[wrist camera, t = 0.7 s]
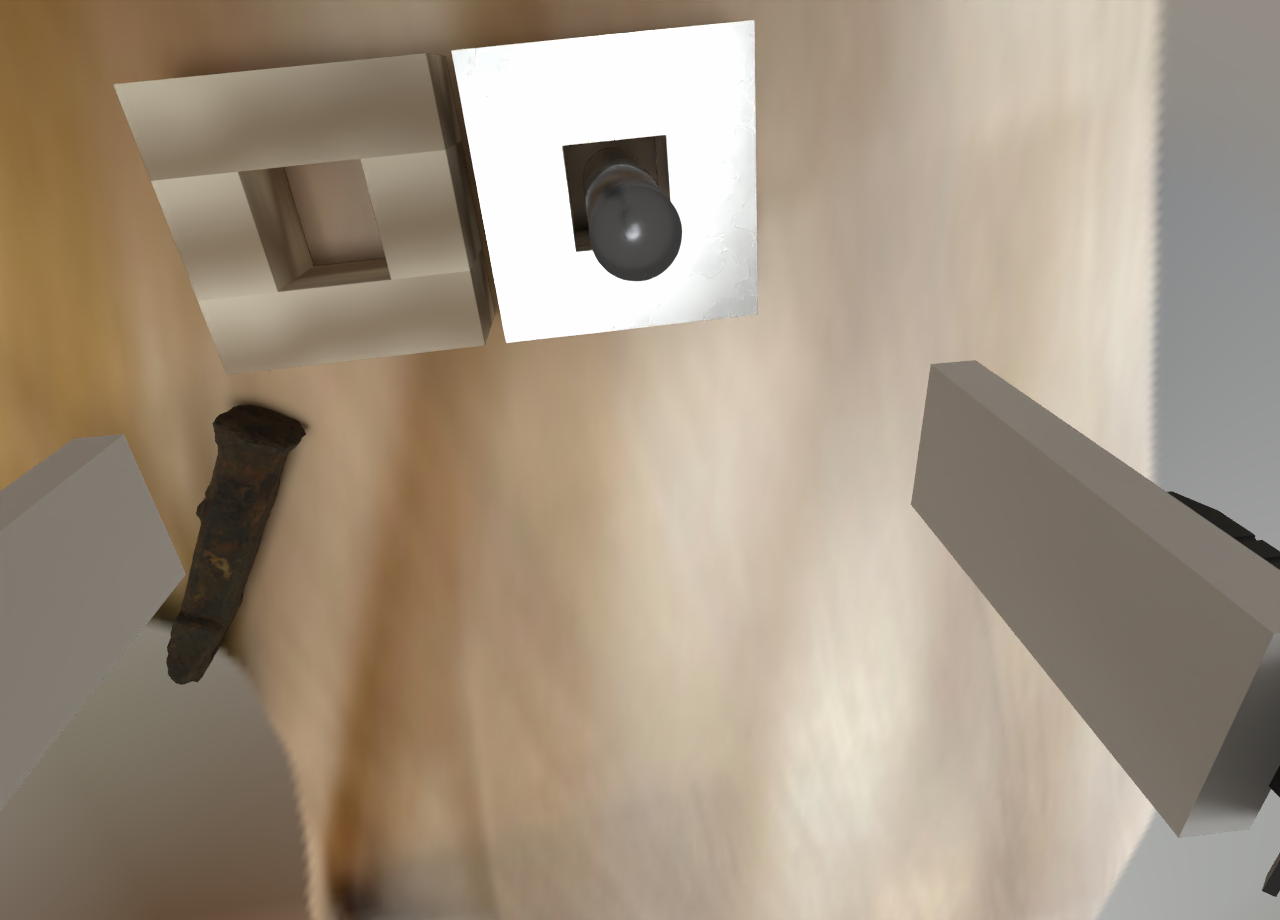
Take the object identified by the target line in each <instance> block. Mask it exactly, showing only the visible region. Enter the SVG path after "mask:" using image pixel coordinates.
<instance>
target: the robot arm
mask: <svg viewBox="0 0 1280 920" xmlns="http://www.w3.org/2000/svg"><path fill="white" fill-rule="evenodd" d="M911 505H912V506H913V508H914V509H915V510H916V511H917V512H918V514H919V515H920V516H921V517H922V519H923V520H924V521H925V522H926V524H927V525H928V526H929V527H930V529H931V530H932V531H933V532H934V534H935V535H936V536H937V537H938V539H939V540H940V541H941V542H942V544H943V545H944V546H945V547H946V549H947V550H948V551H949V552H950V554H951V555H952V556H953V557H954V559H955V560H956V561H957V562H958V564H959V565H960V566H961V567H962V569H963V570H964V571H965V572H966V574H967V575H968V576H969V577H970V578H971V580H972V581H973V582H974V583H975V585H976V586H977V587H978V588H979V590H980V591H981V592H982V593H983V595H984V596H985V597H986V598H987V600H988V601H989V602H990V603H991V605H992V606H993V607H994V608H995V610H996V611H997V612H998V613H999V615H1000V616H1001V617H1002V618H1003V620H1004V621H1005V622H1006V623H1007V625H1008V626H1009V627H1010V628H1011V630H1012V631H1013V632H1014V633H1015V635H1016V636H1017V637H1018V638H1019V640H1020V641H1021V642H1022V643H1023V644H1024V646H1025V647H1026V648H1027V649H1028V651H1029V652H1030V653H1031V654H1032V656H1033V657H1034V658H1035V659H1036V661H1037V662H1038V663H1039V664H1040V666H1041V667H1042V668H1043V669H1044V671H1045V672H1046V673H1047V674H1048V676H1049V677H1050V678H1051V679H1052V681H1053V682H1054V683H1055V684H1056V686H1057V687H1058V688H1059V689H1060V691H1061V692H1062V693H1063V694H1064V696H1065V697H1066V698H1067V699H1068V701H1069V702H1070V703H1071V704H1072V706H1073V707H1074V708H1075V709H1076V710H1077V712H1078V713H1079V714H1080V715H1081V717H1082V718H1083V719H1084V720H1085V722H1086V723H1087V724H1088V725H1089V727H1090V728H1091V729H1092V730H1093V732H1094V733H1095V734H1096V735H1097V737H1098V738H1099V739H1100V740H1101V742H1102V743H1103V744H1104V745H1105V747H1106V748H1107V749H1108V750H1109V752H1110V753H1111V754H1112V755H1113V757H1114V758H1115V759H1116V760H1117V762H1118V763H1119V764H1120V765H1121V767H1122V768H1123V769H1124V770H1125V772H1126V773H1127V774H1128V775H1129V776H1130V778H1131V779H1132V780H1133V781H1134V783H1135V784H1136V785H1137V786H1138V788H1139V789H1140V790H1141V791H1142V793H1143V794H1144V795H1145V796H1146V798H1147V799H1148V800H1149V801H1150V803H1151V804H1152V805H1153V806H1154V808H1155V809H1156V810H1157V811H1158V812H1159V814H1160V815H1161V816H1162V818H1163V819H1164V820H1165V821H1166V823H1167V824H1168V825H1169V826H1170V828H1171V829H1172V830H1173V831H1174V832H1175V834H1176V835H1177V836H1178V837H1179V838H1181V837H1190V836H1198V835H1206V834H1215V833H1222V832H1231V831H1238V830H1247V829H1250V827H1251V825H1252V823H1253V822H1254V820H1255V818H1256V816H1257V814H1258V812H1259V810H1260V809H1261V807H1262V805H1263V803H1264V801H1265V799H1266V797H1267V795H1268V793H1269V792H1270V790H1271V789H1272V790H1273V791H1274V792H1275V793H1276V794H1277V795H1278V796H1279V797H1280V551H1278V550H1277V549H1275V548H1274V547H1272V546H1271V545H1269V544H1268V543H1266V542H1265V541H1263V540H1258V541H1257V540H1256V539H1255V535H1254V534H1253V533H1251V532H1250V531H1248V530H1247V529H1245V528H1244V527H1242V526H1240V525H1239V524H1238V523H1236V522H1235V521H1233V520H1232V519H1230V518H1228V517H1227V516H1226V515H1224V514H1223V513H1221V512H1219V511H1218V510H1215V509H1213V508H1210V507H1208V506H1205V505H1203V504H1201V503H1198V502H1196V501H1194V500H1191V499H1189V498H1186V497H1184V496H1182V495H1179V494H1177V493H1174V492H1166V491H1164V490H1163V489H1161V488H1160V487H1158V486H1157V485H1156V484H1154V483H1153V482H1151V481H1150V480H1148V479H1147V478H1145V477H1144V476H1142V475H1141V474H1140V473H1138V472H1137V471H1135V470H1134V469H1132V468H1131V467H1129V466H1128V465H1127V464H1125V463H1124V462H1122V461H1121V460H1119V459H1118V458H1116V457H1115V456H1113V455H1112V454H1111V453H1109V452H1108V451H1106V450H1105V449H1103V448H1102V447H1100V446H1099V445H1097V444H1096V443H1095V442H1093V441H1092V440H1090V439H1089V438H1087V437H1086V436H1084V435H1083V434H1082V433H1080V432H1079V431H1077V430H1076V429H1074V428H1073V427H1071V426H1070V425H1068V424H1067V423H1066V422H1064V421H1063V420H1061V419H1060V418H1058V417H1057V416H1055V415H1054V414H1053V413H1051V412H1050V411H1048V410H1047V409H1045V408H1044V407H1042V406H1041V405H1039V404H1038V403H1037V402H1035V401H1034V400H1032V399H1031V398H1029V397H1028V396H1026V395H1025V394H1024V393H1022V392H1021V391H1019V390H1018V389H1016V388H1015V387H1013V386H1012V385H1010V384H1009V383H1008V382H1006V381H1005V380H1003V379H1002V378H1000V377H999V376H997V375H996V374H994V373H993V372H992V371H990V370H989V369H987V368H986V367H984V366H983V365H981V364H980V363H979V362H977V361H976V360H974V361H962V362H951V363H939V364H931V367H930V374H929V381H928V388H927V395H926V403H925V410H924V417H923V424H922V431H921V438H920V445H919V452H918V459H917V467H916V474H915V481H914V488H913V495H912V502H911ZM185 575H186V574H185V571H184V569H183V567H182V565H181V562H180V560H179V558H178V556H177V553H176V551H175V549H174V547H173V544H172V542H171V540H170V538H169V535H168V533H167V531H166V529H165V526H164V524H163V522H162V519H161V517H160V515H159V513H158V510H157V508H156V506H155V504H154V501H153V499H152V497H151V495H150V492H149V490H148V488H147V486H146V483H145V481H144V479H143V477H142V474H141V472H140V470H139V468H138V465H137V463H136V461H135V459H134V456H133V454H132V452H131V450H130V447H129V445H128V443H127V441H126V438H125V436H124V434H122V435H110V436H98V437H87V438H75V439H73V440H71V441H70V442H69V443H67V444H66V445H64V446H63V447H62V448H60V449H59V450H57V451H56V452H55V453H53V454H52V455H50V456H49V457H48V458H46V459H45V460H43V461H42V462H41V463H39V464H38V465H36V466H35V467H34V468H32V469H31V470H29V471H28V472H27V473H25V474H24V475H22V476H21V477H20V478H18V479H17V480H15V481H14V482H13V483H11V484H10V485H8V486H7V487H6V488H4V489H3V490H1V491H0V810H1V809H2V808H3V806H4V805H5V804H6V803H7V801H8V800H9V799H10V797H11V796H12V795H13V794H14V792H15V791H16V790H17V789H18V787H19V786H20V784H21V783H22V782H23V781H24V780H25V778H26V777H27V776H28V775H29V773H30V772H31V771H32V770H33V768H34V767H35V766H36V764H37V763H38V762H39V761H40V759H41V758H42V757H43V755H44V754H45V753H46V752H47V750H48V749H49V748H50V746H51V745H52V744H53V743H54V741H55V740H56V739H57V738H58V736H59V735H60V734H61V733H62V731H63V730H64V729H65V727H66V726H67V725H68V724H69V722H70V721H71V720H72V718H73V717H74V716H75V715H76V713H77V712H78V711H79V710H80V708H81V707H82V706H83V705H84V703H85V702H86V701H87V699H88V698H89V697H90V696H91V694H92V693H93V692H94V691H95V689H96V688H97V687H98V685H99V684H100V683H101V681H102V680H103V679H104V678H105V677H106V675H107V674H108V673H109V671H110V670H111V669H112V668H113V666H114V665H115V664H116V663H117V661H118V660H119V659H120V657H121V656H122V655H123V653H124V652H125V651H126V650H127V648H128V647H129V646H130V645H131V643H132V642H133V641H134V639H135V638H136V637H137V636H138V634H139V633H140V632H141V631H142V629H143V628H144V627H145V626H146V624H147V623H148V622H149V620H150V619H151V618H152V617H153V615H154V614H155V613H156V612H157V610H158V609H159V608H160V606H161V605H162V604H163V603H164V601H165V600H166V599H167V598H168V596H169V595H170V594H171V592H172V591H173V590H174V589H175V587H176V586H177V585H178V584H179V582H180V581H181V580H182V578H183V577H184V576H185ZM1262 891H1263V892H1266V893H1268V894H1270V895H1272V896H1277V894H1278V893H1279V891H1280V853H1279V855H1278V857H1277V859H1276V860H1275V862H1274V864H1273V865H1272V867H1271V869H1270V871H1269V872H1268V874H1267V877H1266V880H1265V883H1264V887H1263V889H1262Z"/></svg>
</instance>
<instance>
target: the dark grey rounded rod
mask: <svg viewBox="0 0 1280 920" xmlns="http://www.w3.org/2000/svg"><path fill="white" fill-rule="evenodd" d="M583 186H584V194H585V202H586V210H587V218H588V227H589V235H590V242H591V247H592V250H593V253H594V255H595V257H596V259H597V261H598V262H599V264H600V265H601V266H602V267H603V268H604V269H605V270H606V271H607V272H608V273H610V274H611V275H613V276H615V277H617V278H619V279H622V280H626V281H632V282H638V281H646V280H649V279H652V278H654V277H656V276H658V275H660V274H661V273H663V272H664V271H665V270H666V269H667V268H668V267H669V266H670V265H671V264H672V263H673V261H674V260H675V258H676V256H677V255H678V252H679V250H680V246H681V242H682V224H681V220H680V217H679V214H678V212H677V210H676V208H675V207H674V205H673V204H672V203H671V201H670V200H669V199H668V198H667V196H666V195H665V194H664V193H663V191H662V190H661V189H660V188H659V187H658V185H657V184H656V183H655V182H654V180H653V179H652V178H651V177H650V176H649V174H648V173H647V172H646V171H645V169H644V168H643V167H642V166H641V164H640V163H639V162H638V161H637V160H636V158H635V157H634V156H633V155H631V154H630V153H629V152H627V151H625V150H623V149H619V148H607V149H604V150H601V151H599V152H598V153H596V154H595V155H594V156H593V157H592V158H591V159H590V160H589V162H588V163H587V165H586V167H585V170H584V175H583Z"/></svg>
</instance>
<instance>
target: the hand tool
mask: <svg viewBox="0 0 1280 920" xmlns="http://www.w3.org/2000/svg"><path fill="white" fill-rule="evenodd" d="M213 427H214V432H215V442H216V443H217V445H218V456H217V460H216V463H215V468H214V471H213V477H212V481H211V483H210V485H209V486H208V488H207V490H206V492H205V496H206V497H205V499H204V500H203V501H202V502H201V503H200V504H199V506H198V507H197V512H196V514H197V516H198V517H199V518H200V520H201V527H200V531H199V535H198V539H197V543H196V547H195V551H194V555H193V561H192V565H191V569H190V573H189V579H188V583H187V588H186V592H185V596H184V600H183V603H182V607H181V611H180V613H179V615H178V616H177V618H176V619H175V621H174V623H173V626H172V631H171V639H170V641H169V644H168V647H167V650H168V653H169V654H168V657H167V666H168V674H169V676H170V677H171V679H172V680H173V681H175V683H178V684H186V683H189V682H191V681H195V682H198V681H199V680H200V679H201V678H202V677H203V675H204V673H205V671H206V669H207V668H208V666H209V665H210V663H211V661H212V660H213V657H214V655H215V654H216V652H217V651H218V649H219V647H220V645H221V639H222V637H223V635H224V633H225V631H226V630H227V629H228V627H229V625H230V623H231V622H232V620H233V618H234V616H235V614H236V613H237V610H238V608H239V607H240V605H241V603H242V596H243V594H242V591H243V588H244V586H245V583H246V580H247V577H248V575H249V572H250V569H251V566H252V563H253V560H254V557H255V555H256V552H257V549H258V547H259V543H260V538H261V534H262V531H263V528H264V526H265V521H266V520H267V518H268V517H269V512H270V510H271V508H272V507H273V504H274V501H275V498H276V495H277V489H278V486H279V483H280V475H281V472H282V469H283V466H284V463H285V460H286V457H287V455H288V452H289V451H291V450H292V449H293V448H295V447H296V446H297V445H298V444H299V442H300V441H301V439H302V437H303V436H304V435H306V433H305V431H304V429H303V428H302V427H301V425H300V423H299V422H298V421H296V420H294V419H290V418H287V417H285V416H283V415H281V414H279V413H277V412H274V411H271V410H267V409H264V408H261V407H254V406H236V407H233V408H232V409H231V410H229V411H228V412H225V413H223V414H220V415H219V416H218V417H217V418H216V419H215V421H214V422H213Z"/></svg>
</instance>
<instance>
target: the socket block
mask: <svg viewBox="0 0 1280 920" xmlns="http://www.w3.org/2000/svg"><path fill="white" fill-rule="evenodd" d="M451 51H452V57H453V62H454V67H455V73H456V78H457V83H458V89H459V94H460V99H461V105H462V110H463V115H464V121H465V126H466V132H467V137H468V142H469V148H470V153H471V158H472V164H473V169H474V174H475V180H476V185H477V190H478V196H479V201H480V206H481V212H482V217H483V222H484V228H485V233H486V238H487V244H488V249H489V254H490V260H491V265H492V270H493V276H494V281H495V286H496V292H497V297H498V302H499V308H500V313H501V318H502V324H503V329H504V334H505V340H506V343H510V342H519V341H528V340H537V339H545V338H554V337H563V336H572V335H580V334H589V333H598V332H607V331H615V330H624V329H633V328H642V327H651V326H659V325H668V324H677V323H686V322H694V321H703V320H712V319H721V318H729V317H738V316H747V315H756V314H758V299H757V212H756V125H755V38H754V20H750V21H740V22H730V23H720V24H710V25H700V26H691V27H681V28H671V29H661V30H651V31H641V32H631V33H621V34H611V35H601V36H591V37H581V38H571V39H561V40H551V41H541V42H531V43H521V44H511V45H501V46H491V47H481V48H471V49H461V50H451ZM649 136H655V148H656V162H657V176H658V187H659V188H660V189H661V190H662V191H663V193H664V194H665V195H666V196H667V198H668V199H669V200H670V201H671V203H672V204H673V205H674V207H675V208H676V210H677V212H678V214H679V217H680V220H681V224H682V242H681V246H680V250H679V252H678V255H677V256H676V258H675V260H674V261H673V263H672V264H671V265H670V266H669V267H668V268H667V269H666V270H665V271H664V272H663V273H661V274H660V275H658V276H656V277H654V278H652V279H649V280H646V281H638V282H632V281H626V280H622V279H619V278H617V277H615V276H613V275H611V274H610V273H608V272H607V271H606V270H605V269H604V268H603V267H602V266H601V265H600V264H599V262H598V261H597V259H596V257H595V255H594V253H593V250H592V247H591V242H590V235H589V230H583V231H575V227H574V219H573V211H572V203H571V196H570V188H569V180H568V172H567V165H566V157H565V149H564V145H573V144H583V143H592V142H602V141H611V140H621V139H630V138H640V137H649Z"/></svg>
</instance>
